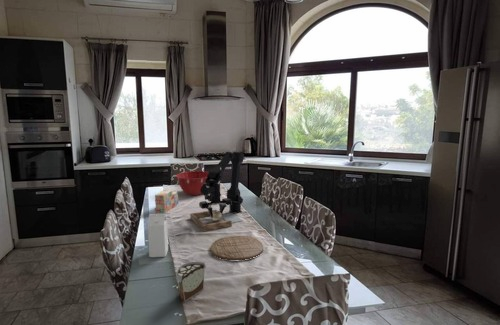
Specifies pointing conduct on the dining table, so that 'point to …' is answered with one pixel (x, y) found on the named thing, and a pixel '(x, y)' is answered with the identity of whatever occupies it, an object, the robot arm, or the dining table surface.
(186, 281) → the cake slice
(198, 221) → the walnut u-shaped frame
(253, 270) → the dining table surface
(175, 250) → the dining table surface
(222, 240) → the trivet
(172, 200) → the colourful printed box
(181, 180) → the mixing bowl
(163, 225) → the milk carton
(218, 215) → the birch block
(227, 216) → the grey mat
